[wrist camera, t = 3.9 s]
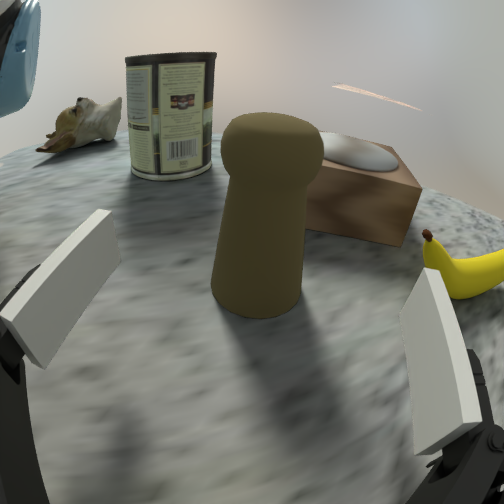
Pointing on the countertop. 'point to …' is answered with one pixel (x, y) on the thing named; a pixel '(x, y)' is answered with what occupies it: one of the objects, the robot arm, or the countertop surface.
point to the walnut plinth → (361, 191)
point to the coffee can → (170, 114)
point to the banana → (463, 269)
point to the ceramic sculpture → (83, 125)
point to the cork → (264, 212)
